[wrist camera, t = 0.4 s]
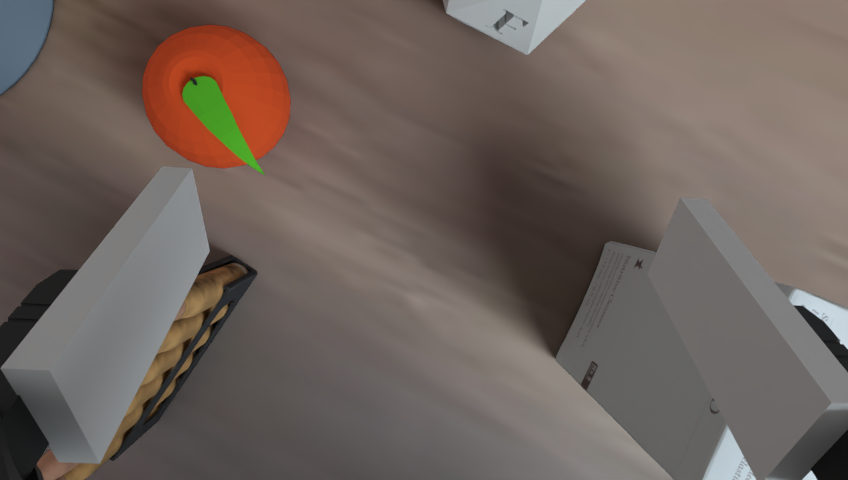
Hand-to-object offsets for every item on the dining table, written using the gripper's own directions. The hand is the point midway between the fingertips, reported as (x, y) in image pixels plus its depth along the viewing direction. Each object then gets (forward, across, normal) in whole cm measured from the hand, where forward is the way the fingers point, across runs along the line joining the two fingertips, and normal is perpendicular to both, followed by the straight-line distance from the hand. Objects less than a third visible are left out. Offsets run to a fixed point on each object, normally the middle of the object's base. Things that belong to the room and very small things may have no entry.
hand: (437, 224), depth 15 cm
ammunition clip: (+9, +13, +16) cm, 22 cm away
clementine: (+16, +10, +5) cm, 20 cm away
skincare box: (+11, -13, +14) cm, 22 cm away
